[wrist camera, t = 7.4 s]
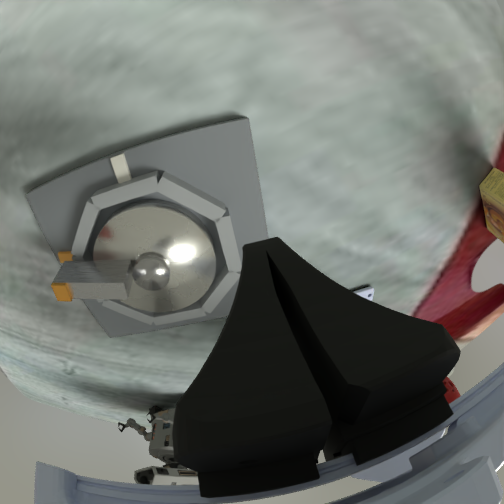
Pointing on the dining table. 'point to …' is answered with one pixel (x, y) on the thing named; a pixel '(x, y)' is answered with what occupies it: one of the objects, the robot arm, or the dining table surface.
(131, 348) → the dining table surface
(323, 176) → the dining table surface
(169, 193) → the board
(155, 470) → the figurine
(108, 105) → the dining table surface
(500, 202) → the candy box
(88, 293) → the dial
